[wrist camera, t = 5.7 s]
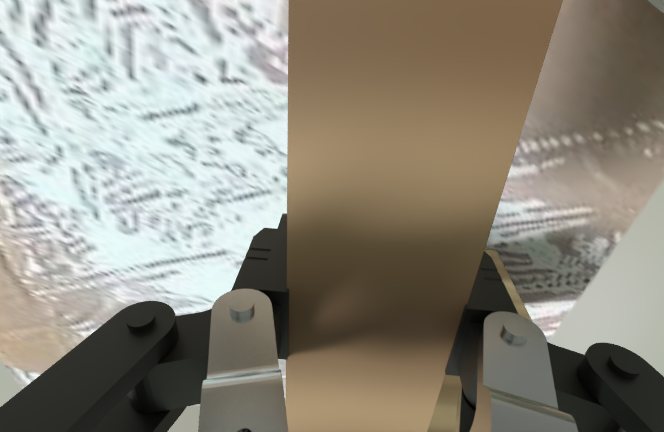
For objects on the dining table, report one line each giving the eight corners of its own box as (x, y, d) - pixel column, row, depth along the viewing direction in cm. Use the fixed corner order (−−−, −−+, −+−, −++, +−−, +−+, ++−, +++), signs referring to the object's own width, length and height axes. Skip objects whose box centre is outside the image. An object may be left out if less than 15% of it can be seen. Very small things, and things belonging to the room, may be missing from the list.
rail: (318, -129, 8) (252, -303, 3) (512, -116, 8) (764, -275, 3) (299, 405, 18) (274, 583, 12) (391, 414, 17) (404, 596, 12)
